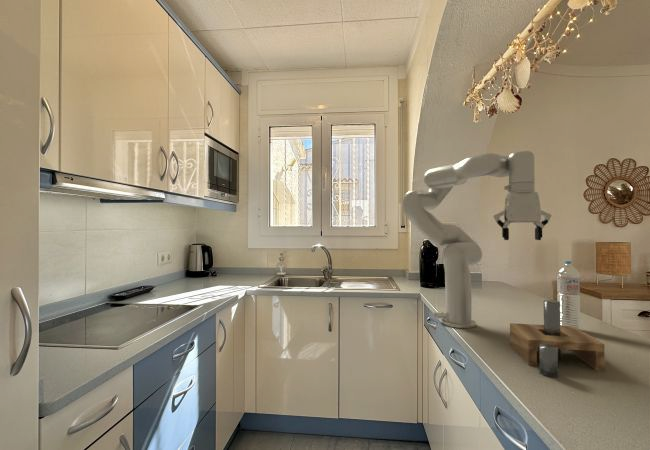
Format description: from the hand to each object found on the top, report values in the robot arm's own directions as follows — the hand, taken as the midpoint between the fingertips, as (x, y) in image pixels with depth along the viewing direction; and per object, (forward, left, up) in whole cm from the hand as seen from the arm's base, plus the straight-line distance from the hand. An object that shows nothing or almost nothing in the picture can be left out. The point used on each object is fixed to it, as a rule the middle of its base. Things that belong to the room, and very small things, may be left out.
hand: (522, 239), depth 114 cm
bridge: (+3, -15, -33) cm, 37 cm away
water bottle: (+20, +15, -34) cm, 42 cm away
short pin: (-3, -28, -33) cm, 44 cm away
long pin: (+3, -15, -33) cm, 37 cm away
